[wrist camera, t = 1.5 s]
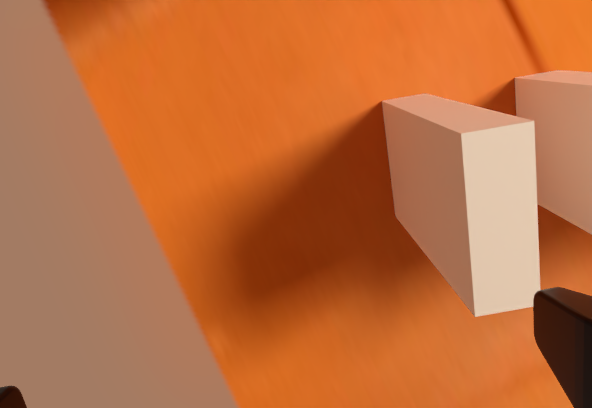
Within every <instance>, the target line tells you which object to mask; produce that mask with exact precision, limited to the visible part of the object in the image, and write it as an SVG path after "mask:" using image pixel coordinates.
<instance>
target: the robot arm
mask: <svg viewBox="0 0 592 408" xmlns="http://www.w3.org/2000/svg"><path fill="white" fill-rule="evenodd" d="M533 311H534V336H535V340H536V343H537V345H538V347H539V349H540V351H541V353H542V354H543V356H544V358H545V359H546V361H547V363H548V364H549V366H550V368H551V369H552V371H553V373H554V375H555V376H556V378H557V380H558V381H559V383H560V385H561V386H562V388H563V390H564V392H565V393H566V395H567V397H568V398H569V400H570V402H571V403H572V405H573V407H574V408H592V296H589V295H586V294H582V293H579V292H575V291H572V290H568V289H565V288H561V287H555V288H550V289H544V290H540V291H537V292H536V293H535V295H534V299H533ZM0 408H27V407H26V404H25V402H24V399H23V397H22V394H21V392H20V390H19V389H18V388H17V387H15V386H7V387H1V388H0Z"/></svg>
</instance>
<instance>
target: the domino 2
mask: <svg viewBox="0 0 592 408" xmlns="http://www.w3.org/2000/svg"><path fill="white" fill-rule="evenodd" d="M515 98H516V116H517V117H521V118H525V119H529V120H533V121H534V127H535V155H536V182H537V204H538V205H540V206H541V207H543V208H545V209H547V210H549V211H550V212H552V213H554V214H556V215H558V216H559V217H561V218H563V219H565V220H567V221H568V222H570V223H572V224H574V225H576V226H577V227H579V228H581V229H583V230H585V231H586V232H588V233H590V234H592V72H580V71H563V70H556V71H550V72H545V73H539V74H533V75H527V76H522V77H516V78H515Z"/></svg>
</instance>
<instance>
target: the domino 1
mask: <svg viewBox="0 0 592 408" xmlns="http://www.w3.org/2000/svg"><path fill="white" fill-rule="evenodd" d="M382 108H383V117H384V125H385V134H386V142H387V151H388V159H389V168H390V176H391V185H392V193H393V201H394V210H395V217H396V218H397V219H398V221H399V222H400V223H401V224H402V226H403V227H404V228H405V229H406V231H407V232H408V233H409V234H410V236H411V237H412V238H413V239H414V241H415V242H416V243H417V244H418V246H419V247H420V248H421V249H422V251H423V252H424V253H425V254H426V256H427V257H428V258H429V260H430V261H431V262H432V263H433V265H434V266H435V267H436V268H437V270H438V271H439V272H440V273H441V275H442V276H443V277H444V278H445V280H446V281H447V282H448V283H449V285H450V286H451V287H452V288H453V290H454V291H455V292H456V293H457V295H458V296H459V297H460V299H461V300H462V301H463V302H464V304H465V305H466V306H467V307H468V309H469V310H470V311H471V312H472V314H473V315H474V316H475V317H477V316H483V315H488V314H494V313H500V312H505V311H511V310H517V309H522V308H528V307H533V299H534V295H535V293H536V292H537V291H540V266H539V238H538V210H537V182H536V155H535V127H534V121H533V120H529V119H525V118H521V117H517V116H513V115H509V114H505V113H501V112H497V111H493V110H489V109H485V108H481V107H477V106H473V105H469V104H465V103H461V102H458V101H454V100H450V99H446V98H442V97H438V96H434V95H430V94H426V93H424V94H419V95H413V96H407V97H401V98H396V99H390V100H384V101H382Z"/></svg>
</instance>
